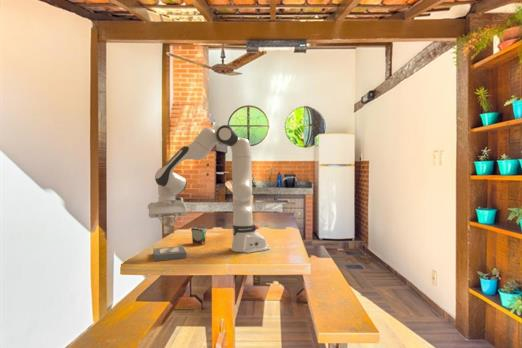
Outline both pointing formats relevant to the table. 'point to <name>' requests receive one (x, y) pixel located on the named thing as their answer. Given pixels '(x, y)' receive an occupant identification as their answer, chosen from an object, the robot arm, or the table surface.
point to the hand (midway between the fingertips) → (168, 222)
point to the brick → (168, 224)
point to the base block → (169, 253)
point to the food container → (198, 235)
